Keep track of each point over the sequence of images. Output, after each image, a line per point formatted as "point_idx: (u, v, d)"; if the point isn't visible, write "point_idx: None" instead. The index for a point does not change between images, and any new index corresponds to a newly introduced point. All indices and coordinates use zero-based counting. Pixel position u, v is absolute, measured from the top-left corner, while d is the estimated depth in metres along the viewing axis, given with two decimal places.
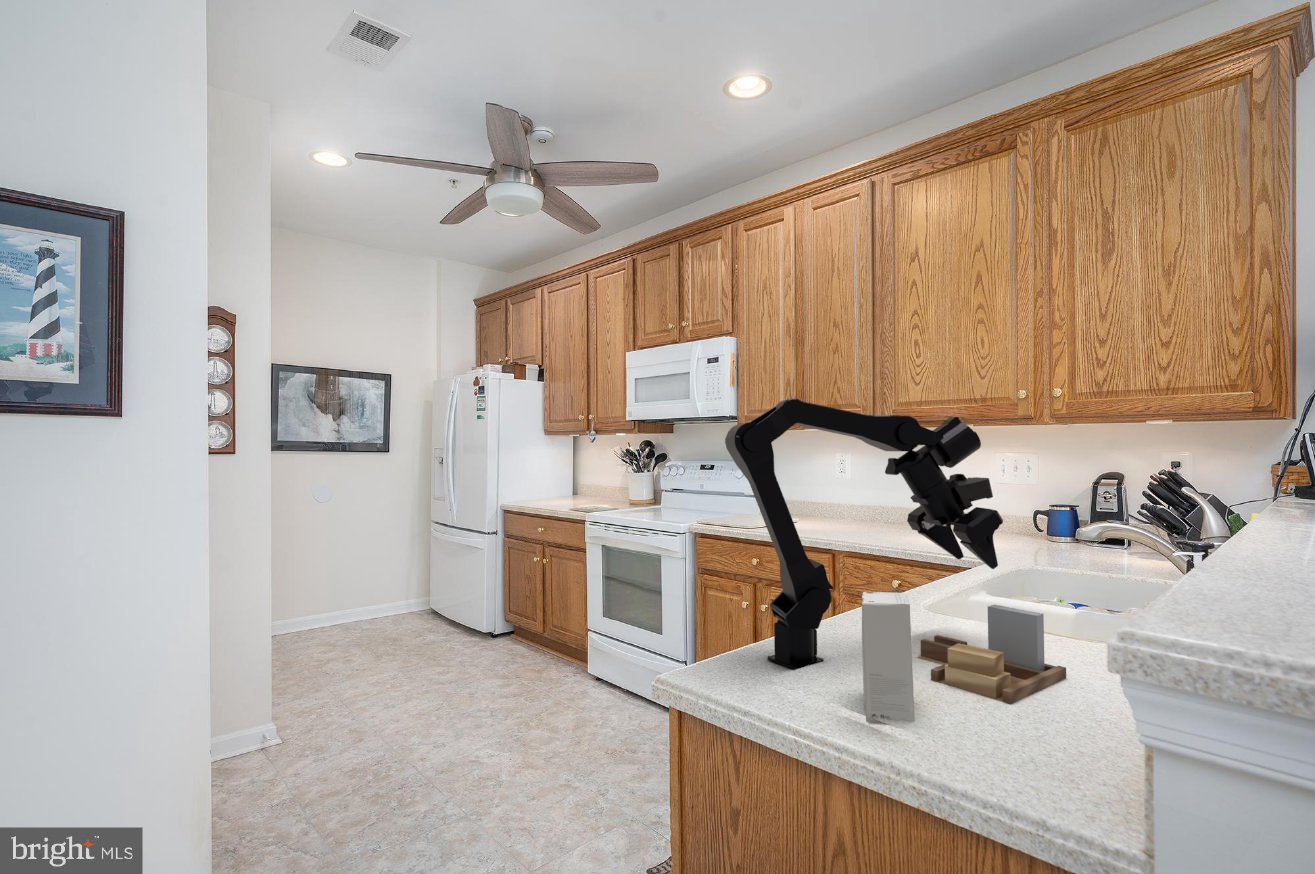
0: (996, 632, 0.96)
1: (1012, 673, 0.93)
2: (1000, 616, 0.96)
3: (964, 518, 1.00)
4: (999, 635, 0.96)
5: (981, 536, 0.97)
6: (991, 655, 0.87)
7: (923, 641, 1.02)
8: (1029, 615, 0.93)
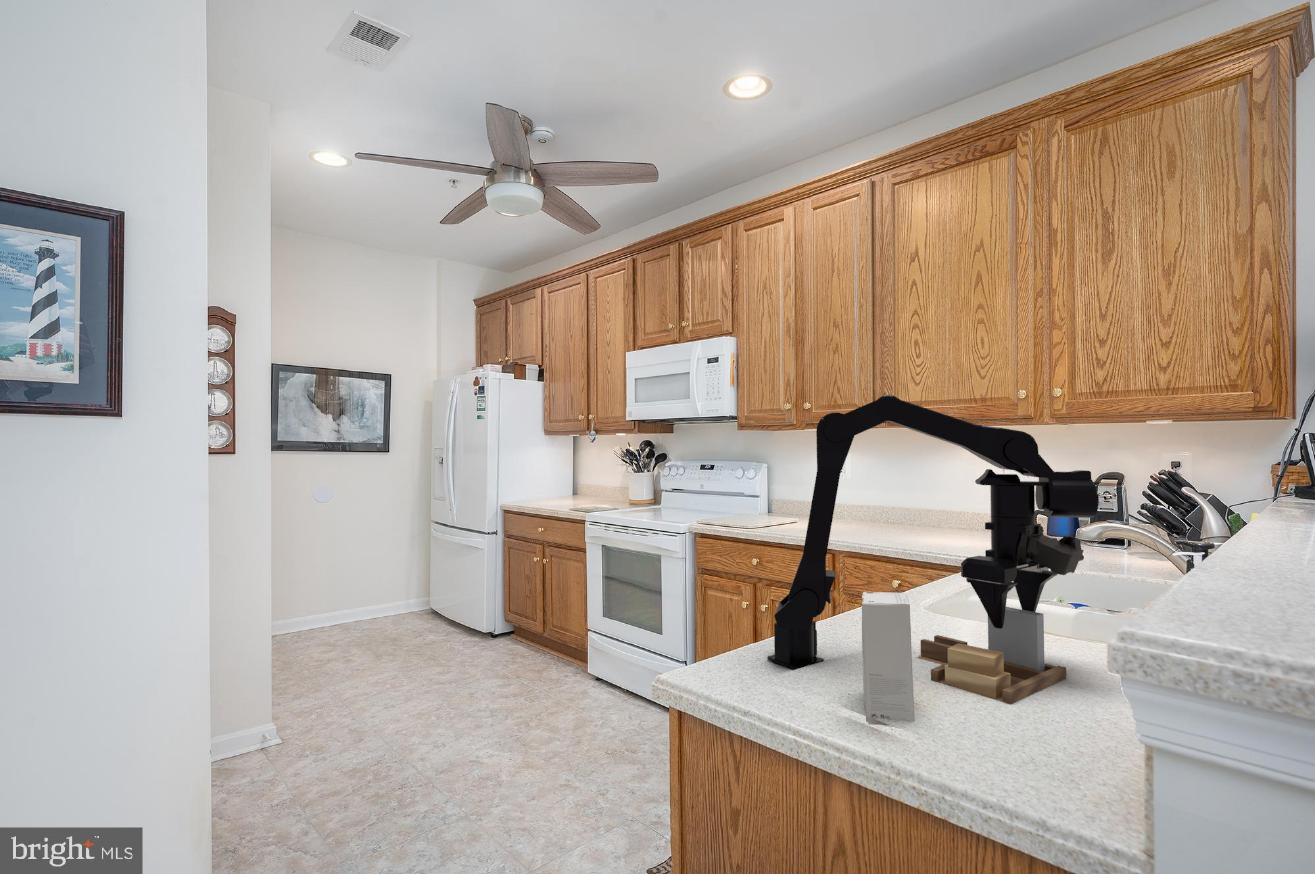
0: (996, 632, 0.96)
1: (1012, 673, 0.93)
2: None
3: (984, 557, 0.92)
4: (999, 635, 0.96)
5: (969, 576, 0.91)
6: (991, 655, 0.87)
7: (923, 641, 1.02)
8: (1029, 615, 0.93)
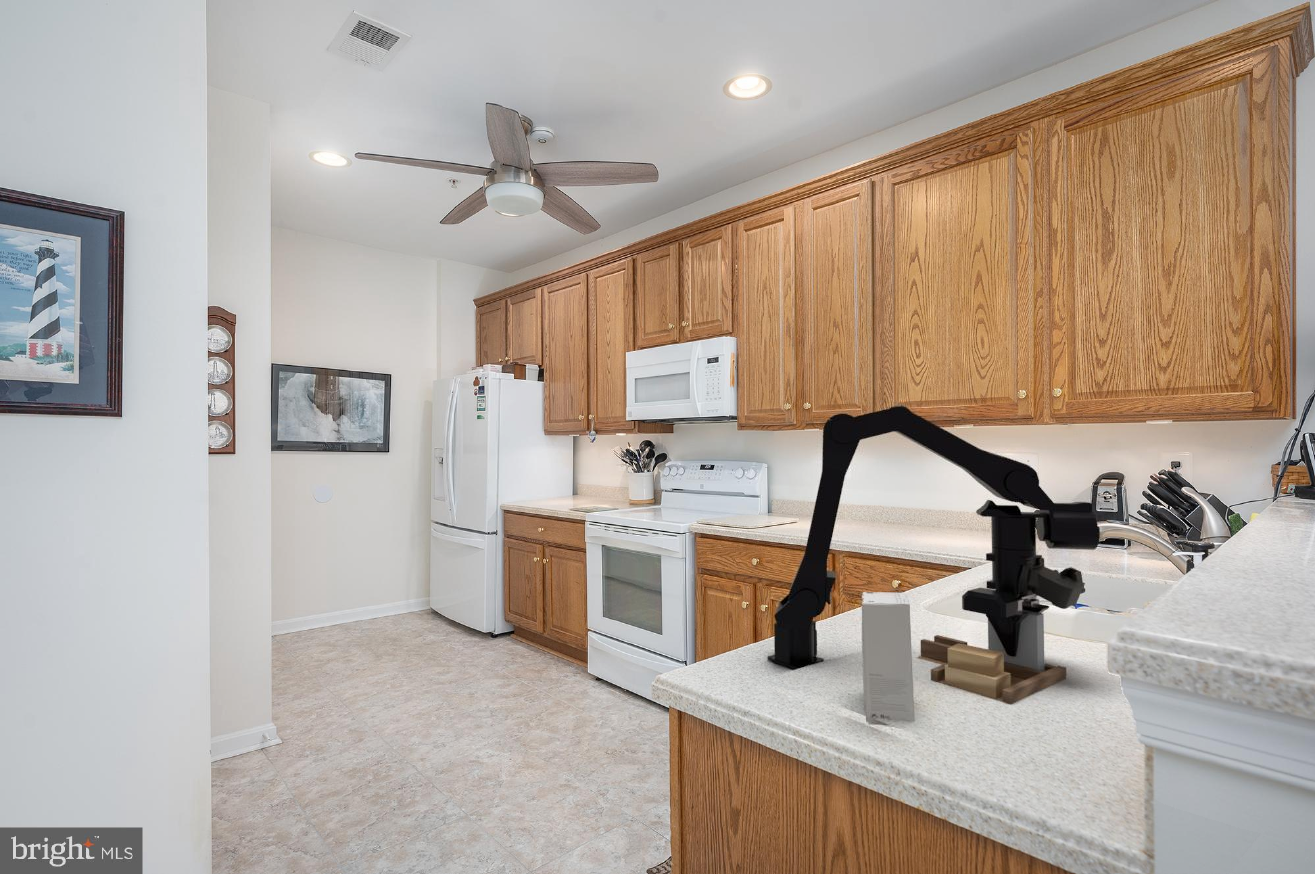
0: None
1: (1012, 673, 0.93)
2: None
3: (985, 589, 0.92)
4: None
5: (971, 609, 0.91)
6: (991, 655, 0.87)
7: (923, 641, 1.02)
8: (1029, 615, 0.93)
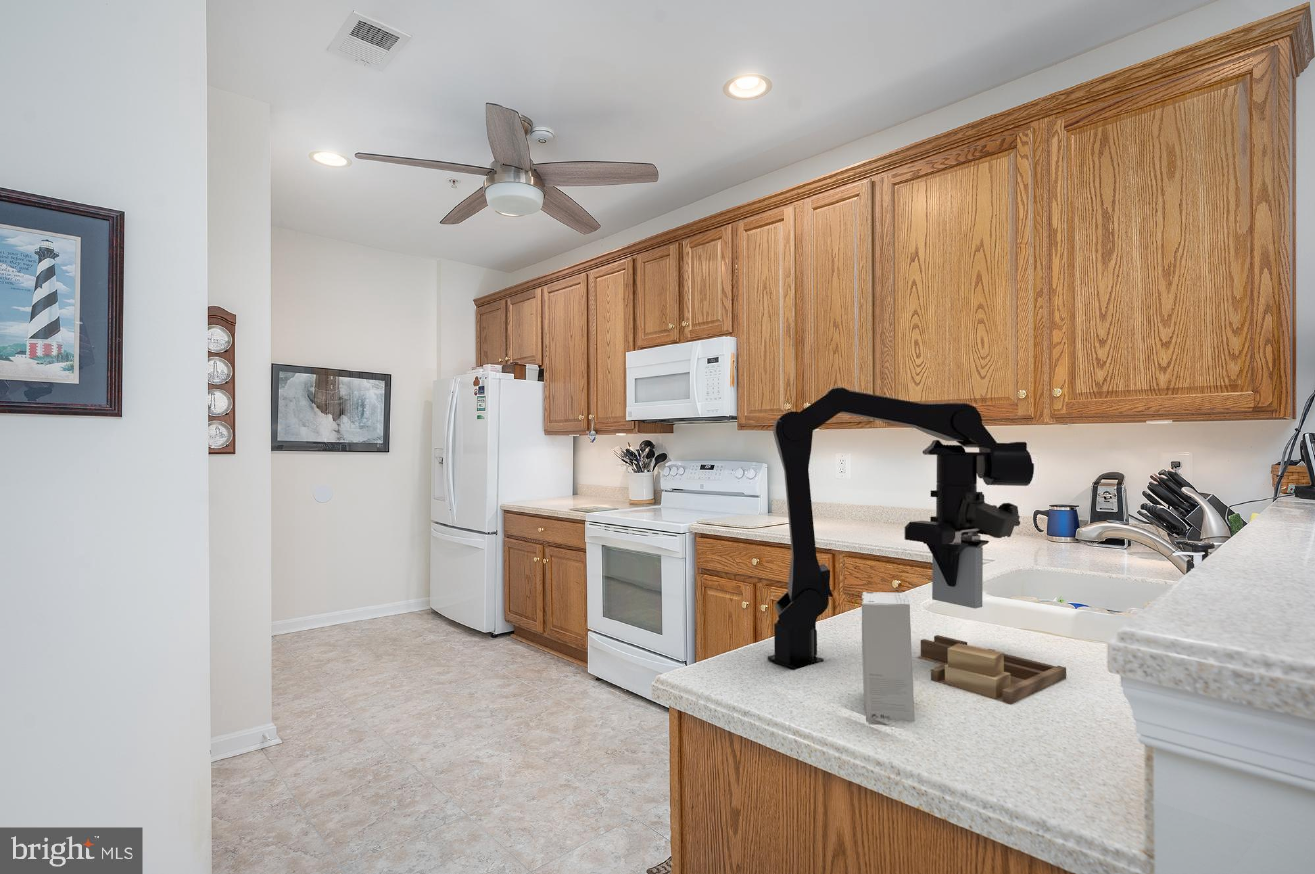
0: None
1: (1012, 673, 0.93)
2: None
3: (926, 521, 0.98)
4: None
5: (911, 539, 0.97)
6: (991, 655, 0.87)
7: (923, 641, 1.02)
8: (969, 548, 0.98)
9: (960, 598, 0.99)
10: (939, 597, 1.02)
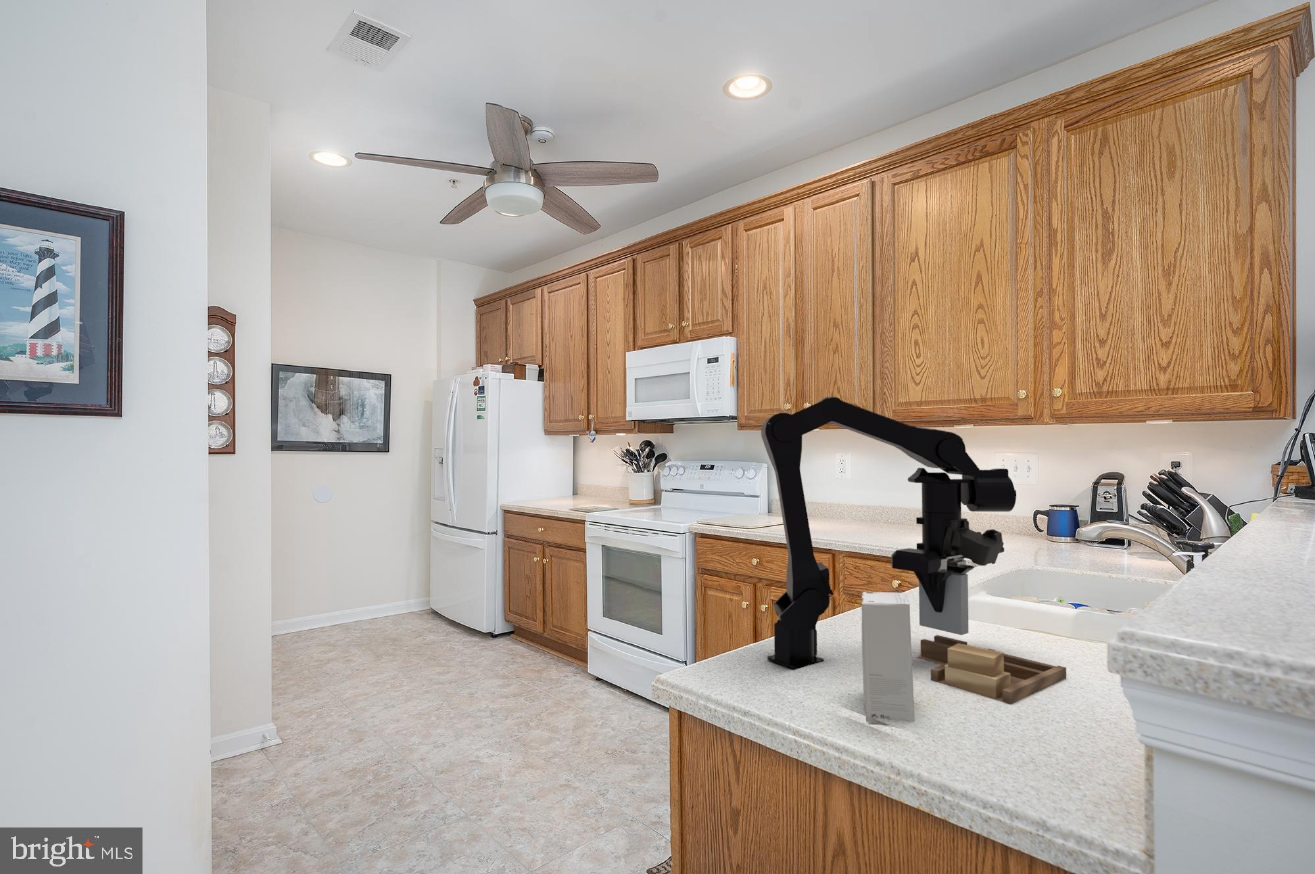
0: None
1: (1012, 673, 0.93)
2: None
3: (913, 549, 0.99)
4: None
5: (898, 567, 0.98)
6: (991, 655, 0.87)
7: (923, 641, 1.02)
8: (954, 575, 0.99)
9: (946, 625, 1.00)
10: (926, 623, 1.03)
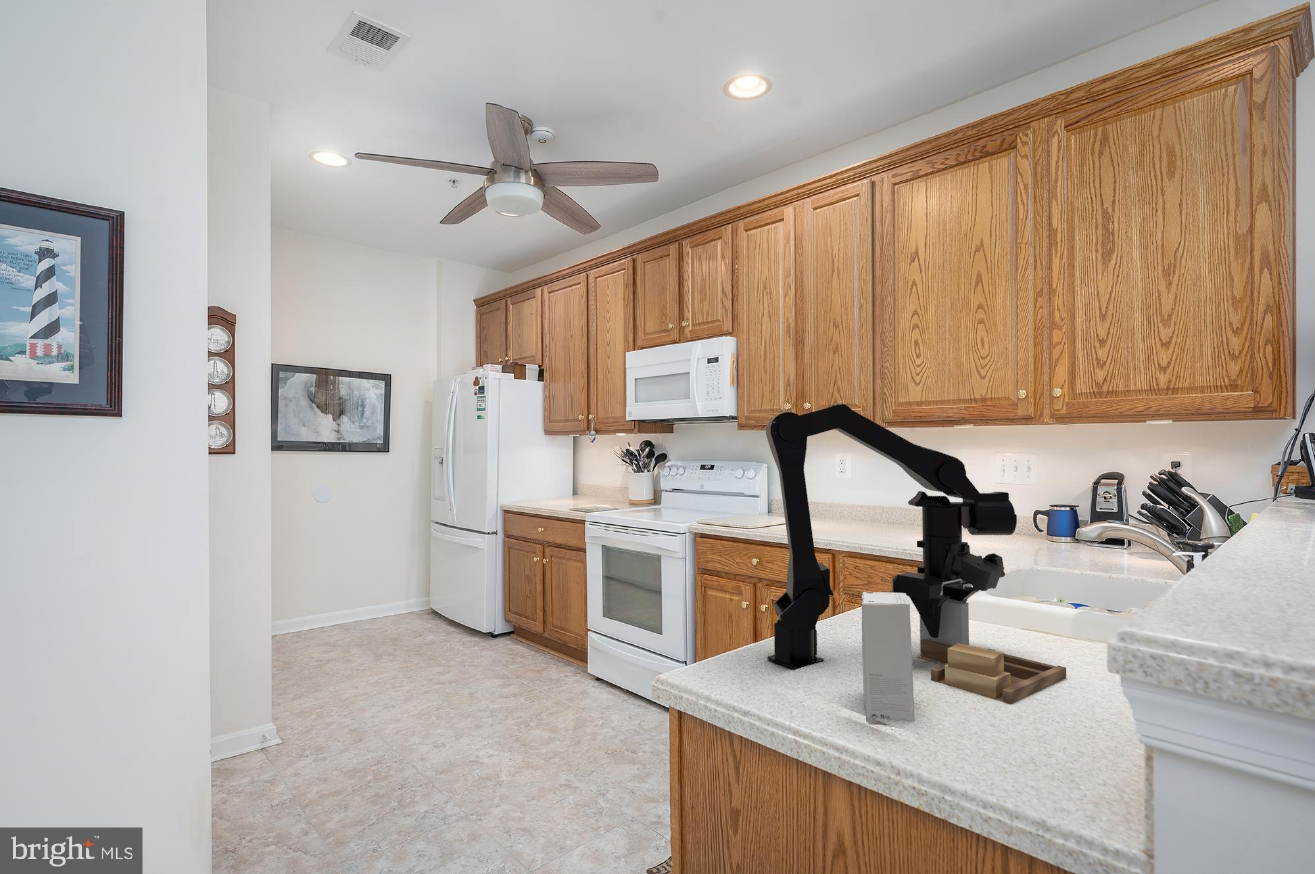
0: None
1: (1012, 673, 0.93)
2: None
3: (913, 574, 0.99)
4: None
5: (899, 592, 0.98)
6: (991, 655, 0.87)
7: (923, 641, 1.02)
8: (955, 604, 0.99)
9: None
10: None
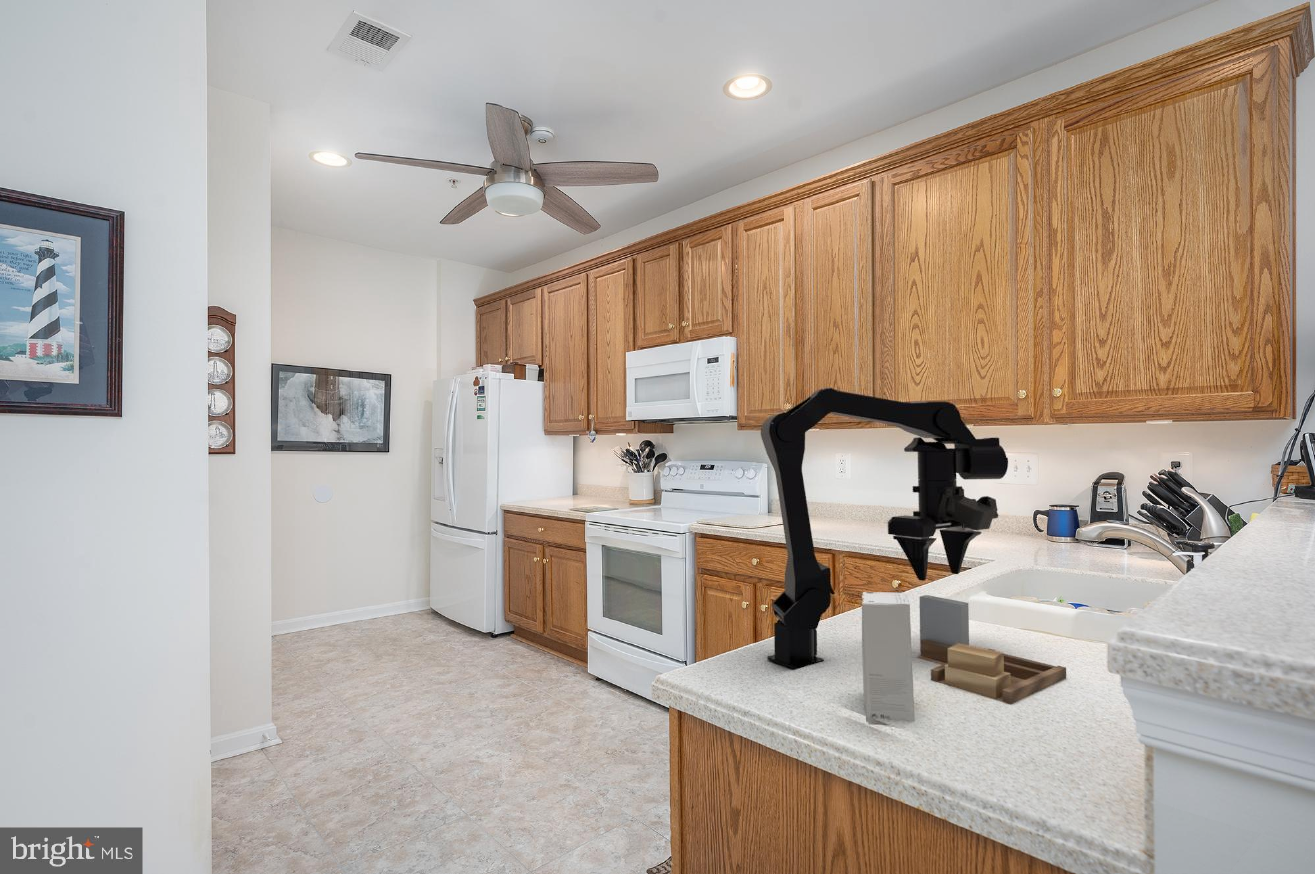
0: (927, 620, 1.03)
1: (1012, 673, 0.93)
2: (930, 605, 1.03)
3: (908, 516, 1.02)
4: (929, 623, 1.03)
5: (894, 533, 1.01)
6: (991, 655, 0.87)
7: (923, 641, 1.02)
8: (955, 604, 0.99)
9: None
10: None
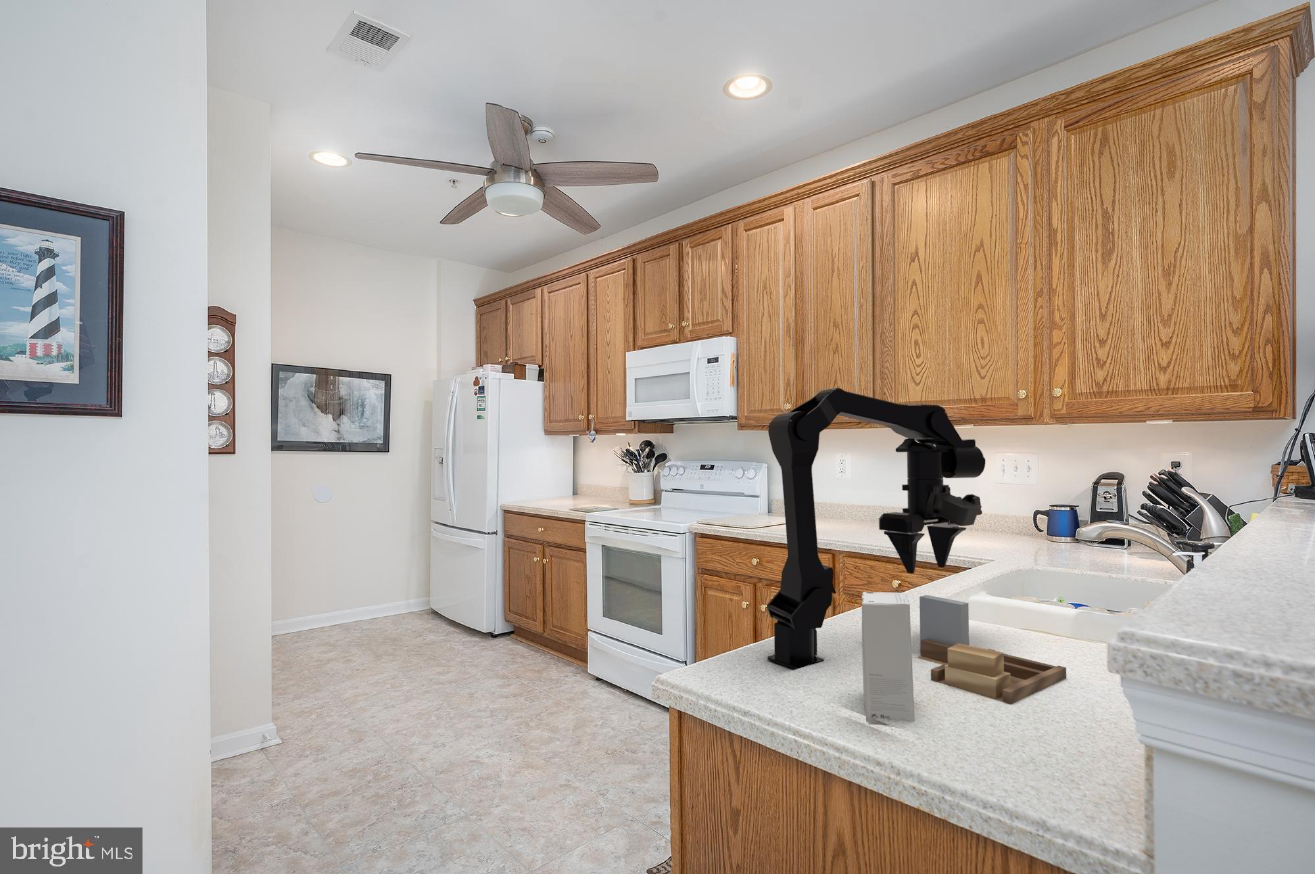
0: (927, 620, 1.03)
1: (1012, 673, 0.93)
2: (930, 605, 1.03)
3: None
4: (929, 623, 1.03)
5: (885, 528, 1.07)
6: (991, 655, 0.87)
7: (923, 641, 1.02)
8: (955, 604, 0.99)
9: None
10: None
